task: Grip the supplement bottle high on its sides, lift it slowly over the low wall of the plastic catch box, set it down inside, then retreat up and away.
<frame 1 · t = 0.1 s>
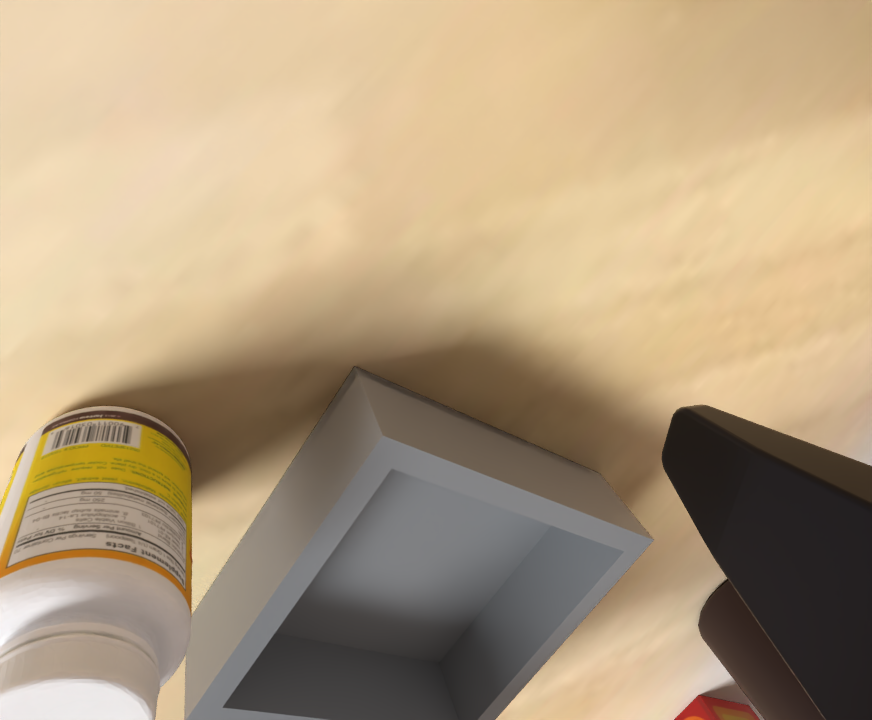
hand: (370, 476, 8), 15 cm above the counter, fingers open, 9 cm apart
vinegar: (739, 598, 41), on the counter
catch box: (404, 544, 30), on the counter
supplement bottle: (110, 460, 23), on the counter
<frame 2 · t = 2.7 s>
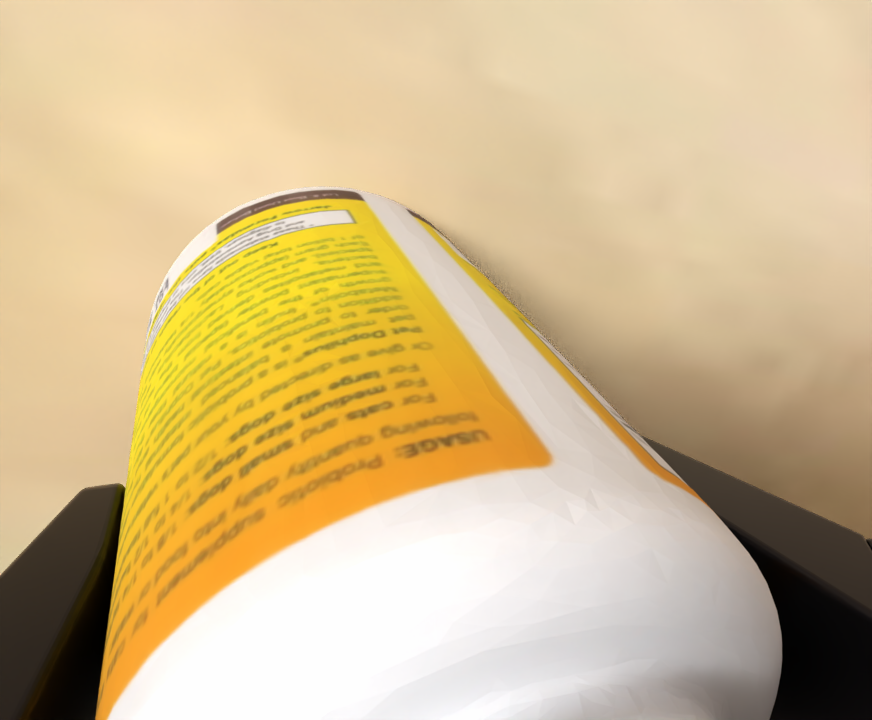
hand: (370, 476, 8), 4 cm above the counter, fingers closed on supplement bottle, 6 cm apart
supplement bottle: (318, 328, 12), on the counter, touching gripper
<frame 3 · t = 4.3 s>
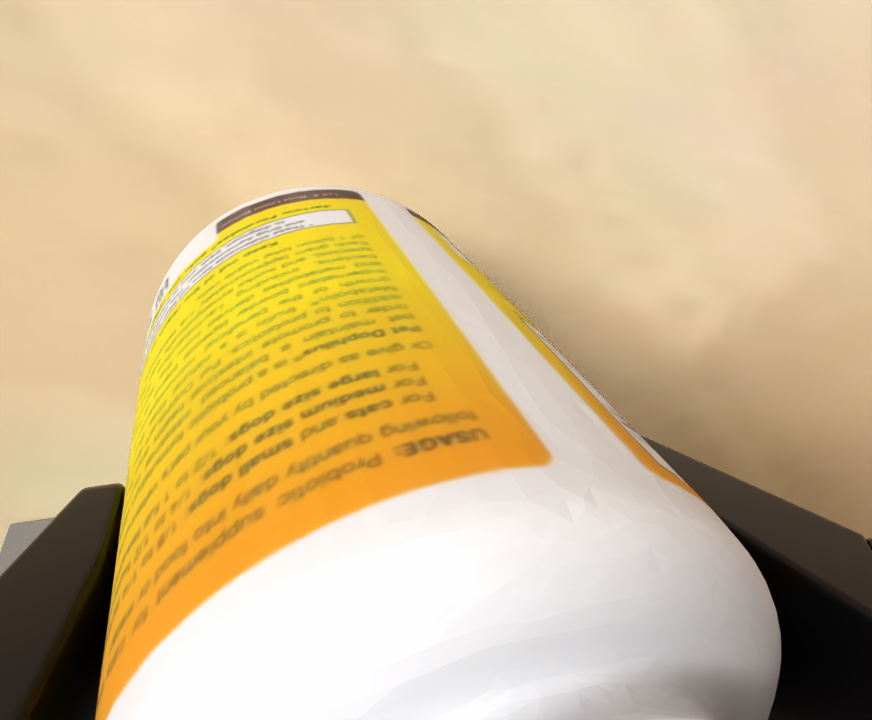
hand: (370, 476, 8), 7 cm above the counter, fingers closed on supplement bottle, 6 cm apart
catch box: (320, 654, 21), on the counter
supplement bottle: (318, 328, 12), point 3 cm above the counter, touching gripper
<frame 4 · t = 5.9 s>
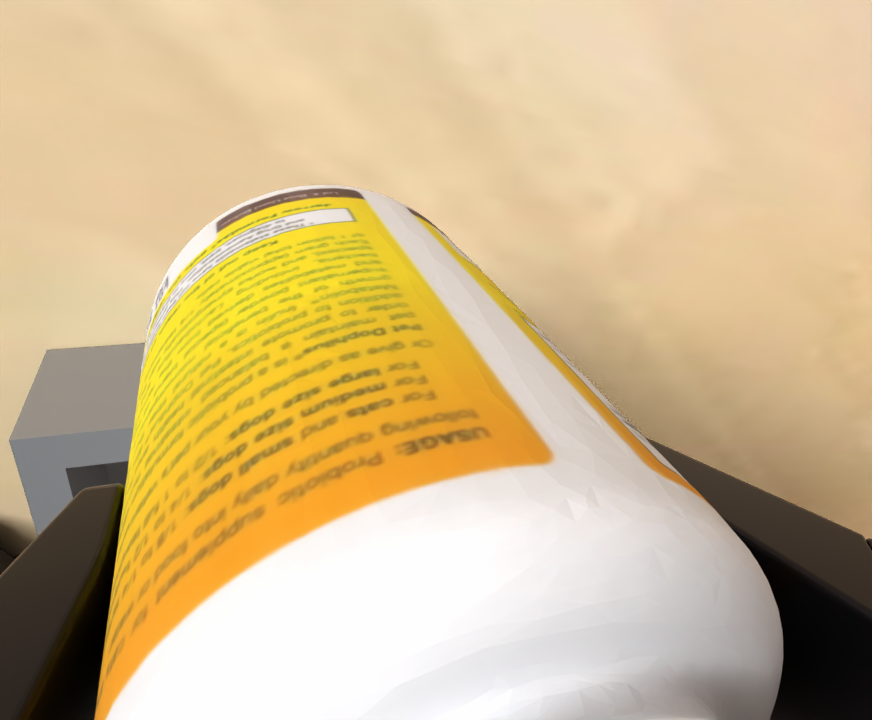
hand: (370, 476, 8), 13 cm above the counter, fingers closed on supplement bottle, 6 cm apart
catch box: (297, 499, 24), on the counter
supplement bottle: (319, 327, 12), point 9 cm above the counter, touching gripper
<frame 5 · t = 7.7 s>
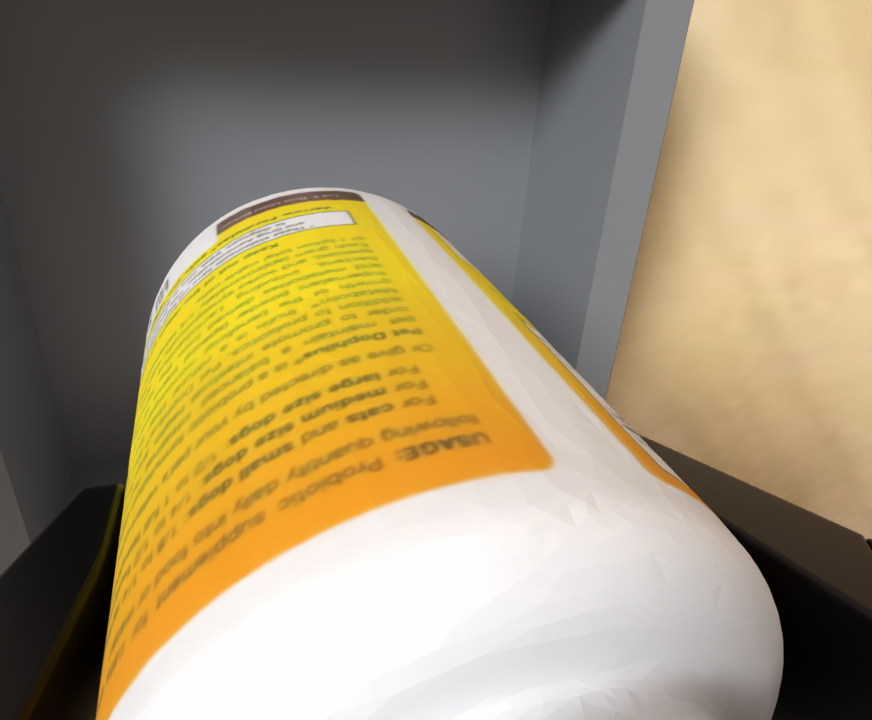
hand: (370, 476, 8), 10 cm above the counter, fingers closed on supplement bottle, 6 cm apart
catch box: (293, 230, 16), on the counter
supplement bottle: (319, 329, 12), point 6 cm above the counter, touching gripper
when the fingers open (6 cm above the counter, at t = 9.3 s): supplement bottle drops 2 cm, resting on catch box.
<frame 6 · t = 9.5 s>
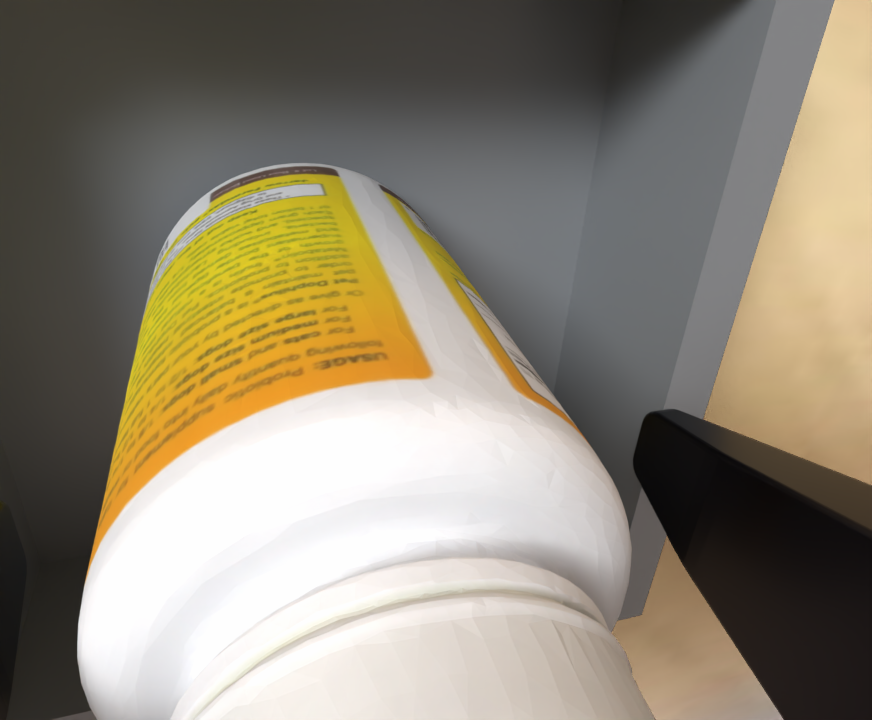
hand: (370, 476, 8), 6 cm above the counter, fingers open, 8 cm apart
catch box: (304, 281, 14), on the counter
supplement bottle: (304, 291, 13), point 1 cm above the counter, touching catch box
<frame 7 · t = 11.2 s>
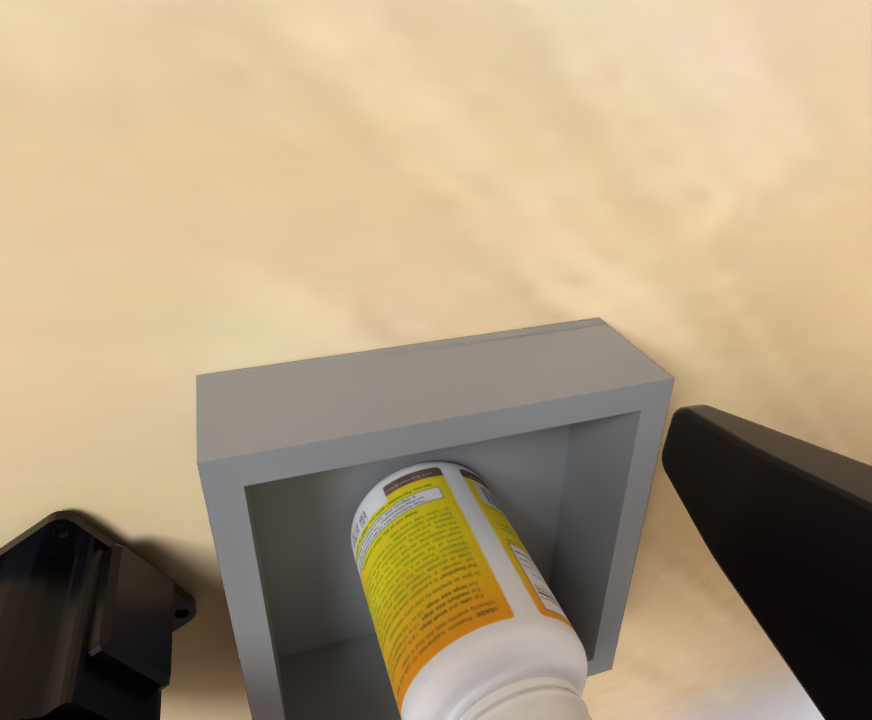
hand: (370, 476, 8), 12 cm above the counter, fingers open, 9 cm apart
catch box: (416, 503, 25), on the counter
supplement bottle: (418, 510, 25), resting on catch box
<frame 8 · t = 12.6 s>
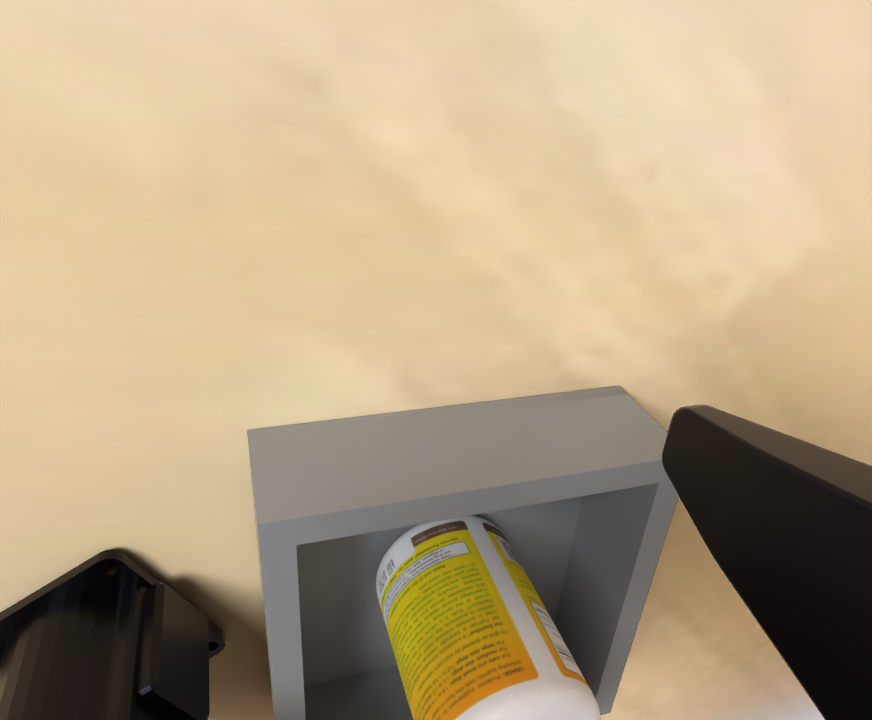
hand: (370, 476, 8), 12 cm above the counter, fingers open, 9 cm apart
catch box: (437, 549, 27), on the counter
supplement bottle: (438, 556, 26), resting on catch box
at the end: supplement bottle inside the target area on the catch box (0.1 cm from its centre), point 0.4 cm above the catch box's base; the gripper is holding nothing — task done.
